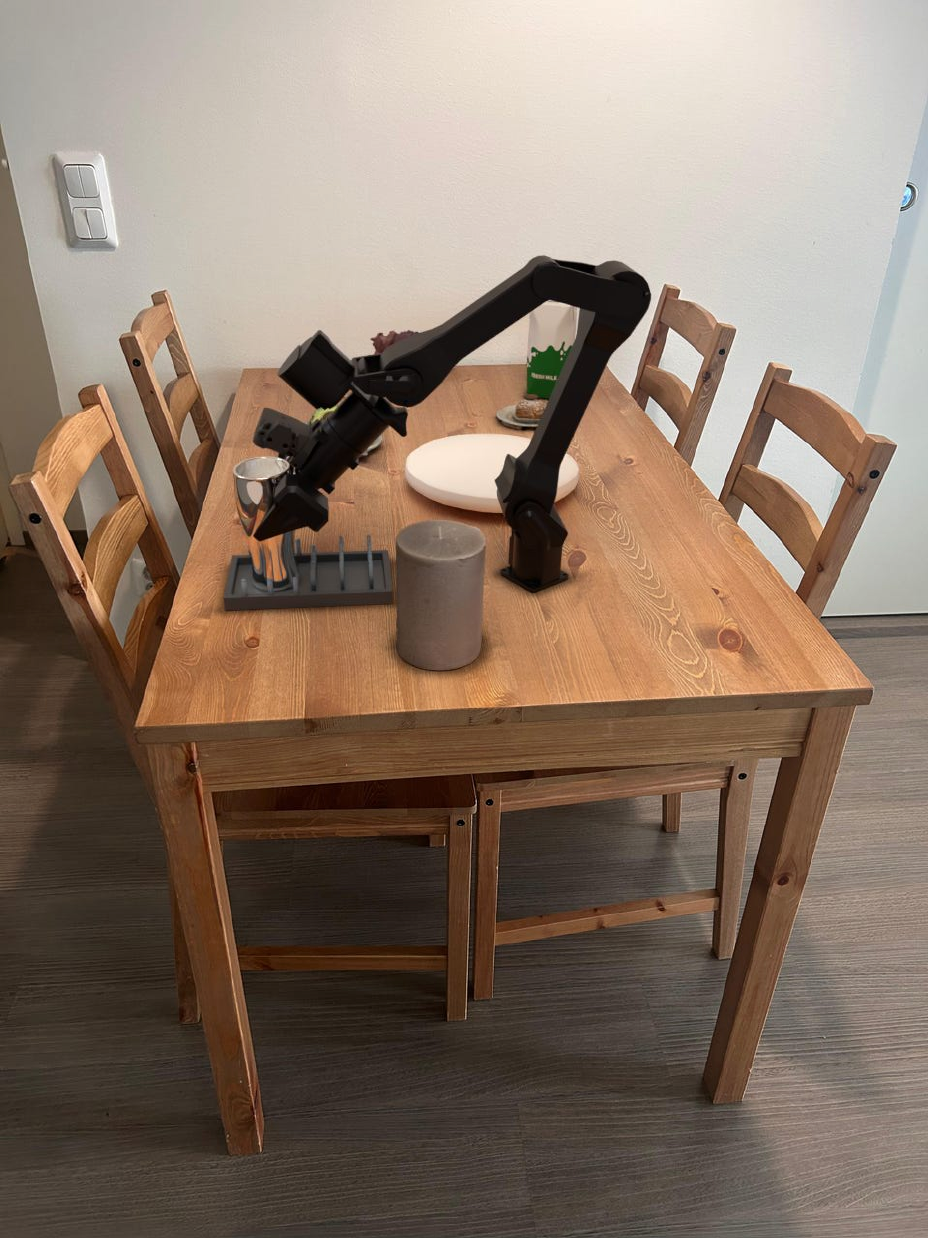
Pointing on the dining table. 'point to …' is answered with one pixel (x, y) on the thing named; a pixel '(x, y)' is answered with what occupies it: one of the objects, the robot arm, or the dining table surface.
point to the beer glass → (252, 507)
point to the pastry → (522, 413)
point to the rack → (316, 581)
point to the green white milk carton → (549, 345)
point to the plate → (473, 470)
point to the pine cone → (389, 339)
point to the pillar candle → (439, 593)
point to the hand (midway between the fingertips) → (258, 525)
